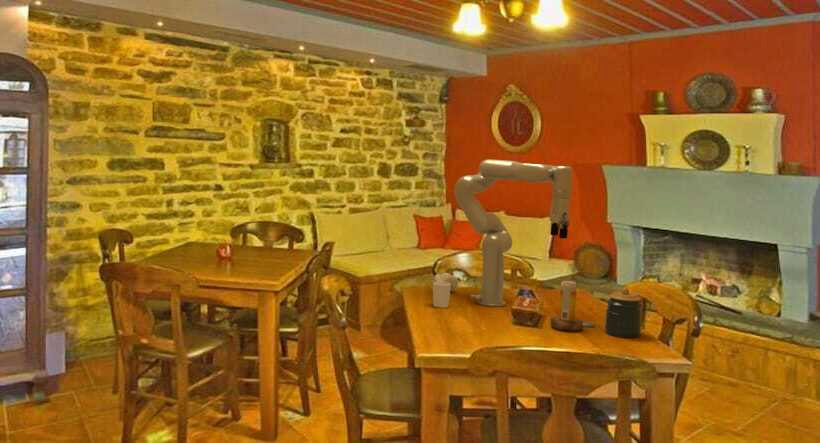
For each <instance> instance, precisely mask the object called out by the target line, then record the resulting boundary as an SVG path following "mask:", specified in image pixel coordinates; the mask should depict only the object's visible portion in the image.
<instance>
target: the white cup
mask: <svg viewBox="0 0 820 443" xmlns="http://www.w3.org/2000/svg"><path fill="white" fill-rule="evenodd" d="M450 289H451V283H449V282H435V281H433V282H432V305H433V307H434V308H443V309H444V308H449V307H450V300H451V299H450V298H451V292H450Z"/></svg>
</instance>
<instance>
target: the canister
mask: <svg viewBox="0 0 820 443" xmlns="http://www.w3.org/2000/svg"><path fill="white" fill-rule="evenodd" d="M641 299H642V297H640V296H639V295H637V294H636V293H634V292H630V290H629V288H628V287H623V288H621V291H614V292H612V293H610V294H609V299H607V300H606V303H607V308H605V322H604V323H605V324H604V331H605V333H606V334H608V335H610V336H613V337H619V338H624V339H625V338H626V339H628V338H629V339H632V338H633V339H634V337H635V338H639V337H640V336H641V332H642V327H641V326H642V316H643V312H642V308H643V306H644V304H643V302H641Z"/></svg>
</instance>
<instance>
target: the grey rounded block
mask: <svg viewBox="0 0 820 443" xmlns="http://www.w3.org/2000/svg"><path fill="white" fill-rule="evenodd" d="M434 282H449V283H451V289H450V291H451V292H454V291H455V290H456V289H457V288H458V285H459V281H458V278H457V277H456V275H453V274H450V273H449V272H444V273H441V274H440V273H437V274H435V276H434Z"/></svg>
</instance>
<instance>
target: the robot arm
mask: <svg viewBox="0 0 820 443" xmlns="http://www.w3.org/2000/svg"><path fill="white" fill-rule="evenodd" d="M573 172H574V171H573V168H572V166H568V165H567V166H566V165H551V164H536V163H534V164H533V163H523V162H519V161H516V160H515V161H514V160H504V159H503V160H501V159H490V158H489V159H484V160H482V161H481V162H480V164H479V166H478V173H477V174H469V175H467V174H466V175H464V176H461V177H459V179H458V180H457V181H456V183H455V186H454V197H455V200H456V203H457V205H458V206H459V207H460V209H461V210H462V212H463V214H464V215H465V217H466V219H467V220H468V222H469V224H470V225H471V227H472V229H473V230H474V232H475V233H477V234H479V235H486V236H485V237H484V238H483V240H482V243H481V253H482V273H481V291H479V293H477V294H470V299H473V300H477V301H476V302H477V304H478V305H482V306H484V307H503V306H505V305H506V304H507V301H506V300H504V299H503V293H504V275H505V274H504V273H505V258H504V253H507V252H509V251H510V249H512V246H513V239H512V237H511V234H510V232H509V231H508V230H507V228H506V226H505V225H504V223H503V221H502V220H501V219H500V217H499V216H498V215H497V214H496V213H494V212H491V211H490V212H489V211H486V210H485V209H484V207H483V206H482V204H481V202H480V201H479V199H477V198H476V196H475V195H476V194H482V193H483V192H485V191H486V190H487V189H488V188H490V187H491V186H492V185H493V184H494V183H496V182H497V181H498V180H502V181H509V182H510V181H512V182H516V181H517V182H518V181H519V182H527V183H528V182H529V183H537V184H538V183H539V184H540V183H541V184H542V183H552V191H551V192H552V195H551V199H552V200H551V205H550V212H549V221H550V235H551V236H558V237H559V239H568V229H569V225H570V201H571V197H572V184H573ZM474 194H475V195H474Z"/></svg>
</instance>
